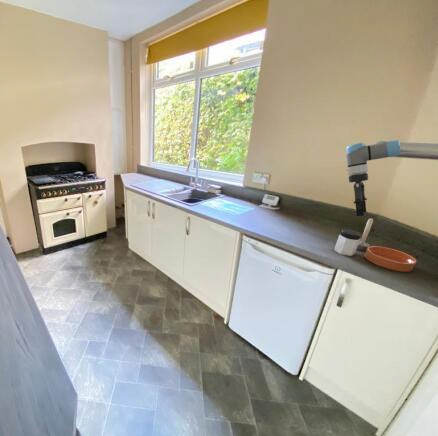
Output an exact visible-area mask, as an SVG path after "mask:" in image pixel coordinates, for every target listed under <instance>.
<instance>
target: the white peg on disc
mask: <svg viewBox="0 0 438 436" xmlns="http://www.w3.org/2000/svg"><path fill="white" fill-rule="evenodd" d="M373 223H374V219H373V218H368V220H367V222H366V225H365V227H364V230H363V233H362V234H361V237H360V242H359V244H358V247H357V249H356V250H358V251H362V252H366V250H367V248H368V247H370V244H369V243H367V242H366V241H367V238H368V236H369V233H370V231H371V228H372V225H373Z"/></svg>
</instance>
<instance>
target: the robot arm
mask: <svg viewBox="0 0 438 436" xmlns="http://www.w3.org/2000/svg"><path fill="white" fill-rule="evenodd" d="M345 153H346V154H345V155H346V164H347V165H346V166H347V169H346V172H347V174H348V182H349V183H354V184H353V193H354V201H353V204H355V212H356V213H355V214H356V217H364V216H365V213H367V203H366V201H367V200H368V198H367V197H366V193H365V184H364V182H366V181H369V173H368V171H369V170H368V163H367V162H368V161H373V160H380V159H387V158H399V159H400V158H401V159H415V160H427V161H428V160H429V161H438V143H432V142H431V143H430V142H406V141H405V142H403V141H402V142H400V140H399V139H395V140H389V141H383V140H381V141H377V142H376V143H374V144H371V145H366V143H365V142H360V143H354V144H350V145H347V147H346V148H345Z"/></svg>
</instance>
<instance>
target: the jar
mask: <svg viewBox="0 0 438 436" xmlns="http://www.w3.org/2000/svg"><path fill="white" fill-rule="evenodd" d="M361 238H362V233H361V232H359V231H357V230H353V229H348V228H343V229H341V231H340V234H338V238H337V240H336V243H335V246H334V249H333V250H334V251H335V252H337V253H338V254H340V255H344V256H350V257H352V256H354V255H356V252H357V250H358V249H357V247H358V244H359V242H360V241H361Z"/></svg>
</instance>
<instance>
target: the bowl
mask: <svg viewBox="0 0 438 436" xmlns="http://www.w3.org/2000/svg"><path fill="white" fill-rule="evenodd" d="M364 258H365V259H366V260H367V261H369V262H370V263H372V264H374V265H377V266H379V267H381V268H385V269H389V270H392V271H397V272H405V273H406V272H412V271H413V270H414V269H415V266H416V264H417V262H418V261H417V259H416V258H415V257H413V256H412V255H410V254H408V253H406V252H403V251H401V250H397V249H394V248H390V247H386V246H380V245H379V246H378V245H371V246H370V245H369V247H368V248H367V250H366V251H365V253H364Z"/></svg>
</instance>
